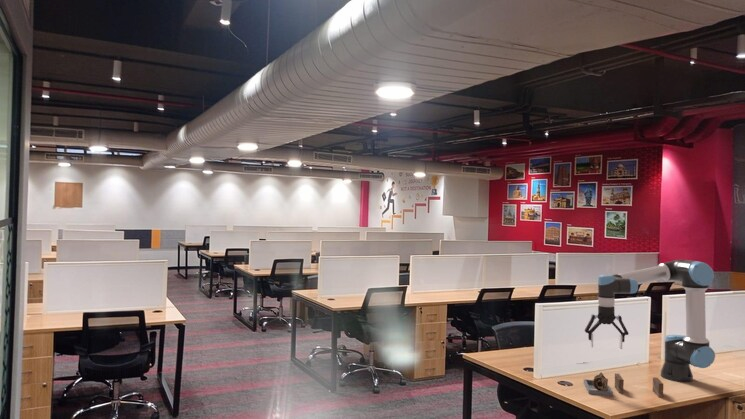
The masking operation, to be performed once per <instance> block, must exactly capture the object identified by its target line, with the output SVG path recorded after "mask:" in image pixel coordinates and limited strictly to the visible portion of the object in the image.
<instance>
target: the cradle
mask: <svg viewBox="0 0 745 419" xmlns="http://www.w3.org/2000/svg"><path fill="white" fill-rule="evenodd" d="M624 384H625V383H624V378H623V377H622V376H621V375H620V373H614V388H615V390H616V391H617V393H618V394H624ZM652 392H653V393H654V394H655V396H656V397H658V398H661V399H663V398H664V383H663V382H662V381H661V379H659V377H656V376H655V377H654V376H653V377H652Z"/></svg>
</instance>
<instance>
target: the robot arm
mask: <svg viewBox="0 0 745 419" xmlns="http://www.w3.org/2000/svg"><path fill="white" fill-rule="evenodd" d="M714 278H715V273H714V270H713V268H712V267H711V266H710V265H709V264H708V263H706V262H702V261H698V260H690V259H689V260H688V259H675V260H671V261H665V262H662V263H659V264H658V265H655V266H652V267H647V268H642V269H637V270H636V269H635V270H631V271H627V272H622V273H621V272H620V273H615V274H600V275H599V276H598V279H597V280H598V281H597V286H598V288H597V289H598V290H597V295H598V296H597V299H598V303H597V304H598V307H597V314H594V313H592V314H590V315H591V317H590V319H589V321H588V323H587V325H586V326H585V328H584V332H585V333H587V334H588V341H590V347H591V348H594V332H595V330H597V329H598V328H599V326H601V325H612V326H613V327H614V328H615V329H616V330H617V331H618V332H619V338H618V340H619V342H618V344H619V349H620V350H623V343H625V336H628V335H629V331H628V330H627V328H626V326H625V324H624V322H623V319H622V316H621V315H620V314H618V315H615V314H616V313H615V309H616V308H615V305H616V304H615V297H616V296H615V294H616V295H618V294H622V295H623V294H624V295H625V294H629V295H631V294H637V292H638V290H639V285H642V284H647V283H651V282H658V281H665V282H669V281H679V282H681V287H682V288H683V289H684V290H685V320H686V321H685V330H686V331H685V334H686V335H681V334H668V335H666V336H665V338H664V361H663V365H662V367H661V369H660V376H661V377H662V378H663V379H667V380H671V381H674V382H680V383H690V382H693V380H694V376H693V373H692V372H693V371H692V369H691V366H692V367H694V368H699V369H706V368H708V367H709V368H710V366H711V365H712V364H713V363H714V362H715V358H716V352H715V350H713V348H711V347H710V340H709V339H708V338H707V336H706V335H707V332H706V331H707V330H706V322H707V321H706V291H707V290H708V289H709V286H710V285H711V283H712V281H714ZM596 319H598V320H597V322H595V320H596ZM615 320H616V321H618V322H619V324H620V326H621V328H622V329H623V331H622V329H621V328H620V327H619V326H618V325H617V323H616V322H615ZM594 322H595V324H594V325H593V323H594ZM690 365H691V366H690Z"/></svg>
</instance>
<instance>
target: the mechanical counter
mask: <svg viewBox="0 0 745 419" xmlns="http://www.w3.org/2000/svg"><path fill="white" fill-rule="evenodd" d="M592 380H593V386H594V387H595V388H596V389H595V390H600V391H607V384H608V383H609V382H608V381H609V379H608V378H607V377H606V376H604V374H603V372H600V373H599V374H597V375H595V376H594V378H593V379H592ZM608 385H609V384H608Z"/></svg>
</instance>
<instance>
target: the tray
mask: <svg viewBox="0 0 745 419" xmlns="http://www.w3.org/2000/svg"><path fill="white" fill-rule="evenodd" d="M583 384H584V387H585V389H586V391H587V393H588V395H595V394H596V395H595V396H605V397H613V394H614V393H613V390H612V389H611V388H610V385H609V384H607V391H600V390H597V389H596V388H595V387H594V386H593V379H588V378H587V379H585V378H583Z"/></svg>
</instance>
